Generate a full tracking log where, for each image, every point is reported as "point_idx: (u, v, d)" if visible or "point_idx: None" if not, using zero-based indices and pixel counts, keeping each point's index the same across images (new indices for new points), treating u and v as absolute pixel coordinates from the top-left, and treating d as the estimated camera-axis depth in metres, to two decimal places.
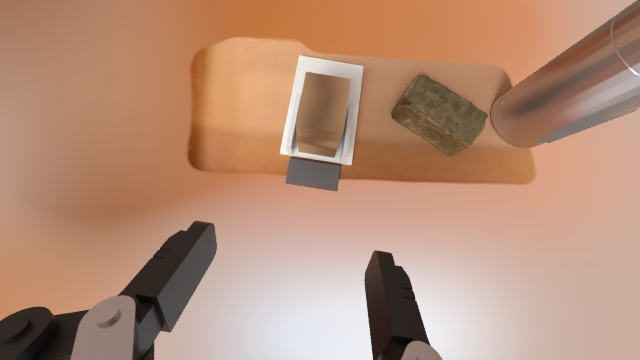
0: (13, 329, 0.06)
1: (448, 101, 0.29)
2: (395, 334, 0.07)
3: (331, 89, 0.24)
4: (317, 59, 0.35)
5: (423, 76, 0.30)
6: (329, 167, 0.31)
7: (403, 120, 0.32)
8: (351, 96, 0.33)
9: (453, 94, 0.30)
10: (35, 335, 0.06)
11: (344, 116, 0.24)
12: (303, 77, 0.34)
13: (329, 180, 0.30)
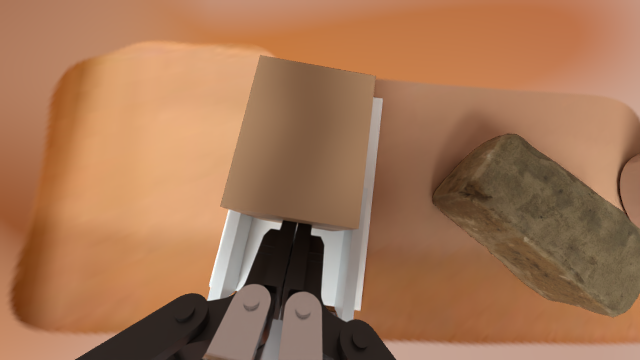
0: (184, 312, 0.07)
1: (574, 203, 0.13)
2: (286, 287, 0.08)
3: (326, 103, 0.09)
4: None
5: (518, 139, 0.14)
6: None
7: (458, 217, 0.16)
8: None
9: (583, 187, 0.13)
10: (200, 318, 0.07)
11: (360, 178, 0.09)
12: None
13: None
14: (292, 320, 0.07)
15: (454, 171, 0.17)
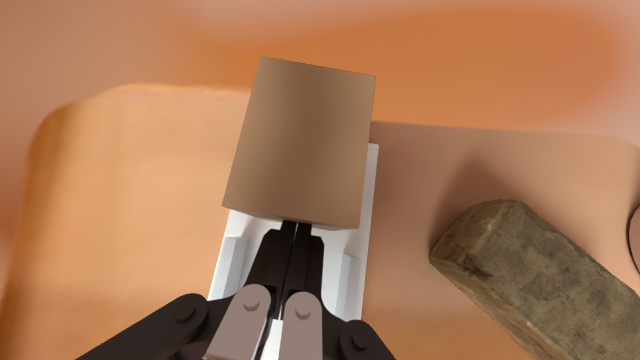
0: (184, 312, 0.07)
1: (582, 283, 0.12)
2: (286, 287, 0.08)
3: (326, 104, 0.09)
4: None
5: (521, 208, 0.13)
6: None
7: (456, 282, 0.15)
8: None
9: (591, 264, 0.12)
10: (200, 318, 0.07)
11: (361, 178, 0.09)
12: None
13: None
14: (292, 320, 0.07)
15: (452, 229, 0.16)
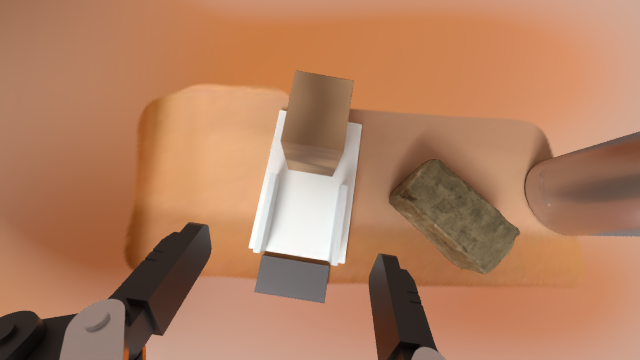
0: None
1: (467, 204, 0.21)
2: (402, 340, 0.07)
3: (328, 94, 0.19)
4: None
5: (438, 163, 0.22)
6: (314, 268, 0.23)
7: (403, 212, 0.24)
8: (345, 166, 0.26)
9: (475, 195, 0.22)
10: (21, 340, 0.06)
11: (345, 129, 0.18)
12: None
13: (314, 288, 0.23)
14: None
15: (403, 181, 0.25)
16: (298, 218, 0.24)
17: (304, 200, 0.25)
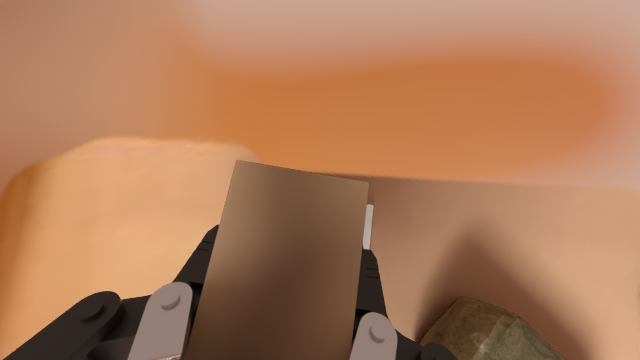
0: (90, 310, 0.06)
1: None
2: None
3: (311, 220, 0.08)
4: None
5: (519, 328, 0.11)
6: None
7: None
8: None
9: None
10: (109, 316, 0.06)
11: (350, 318, 0.07)
12: None
13: None
14: (370, 344, 0.07)
15: (442, 325, 0.14)
16: None
17: None
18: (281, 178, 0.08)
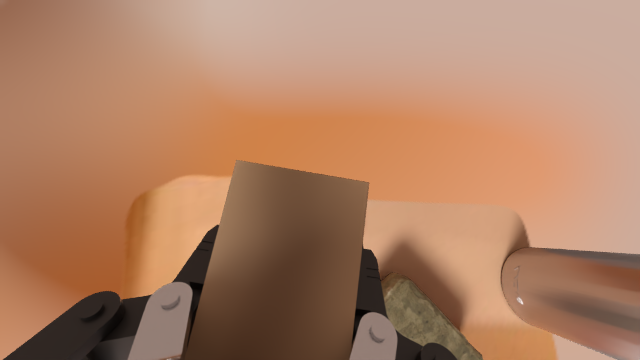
0: (90, 310, 0.06)
1: (433, 330, 0.22)
2: None
3: (311, 220, 0.08)
4: None
5: (408, 284, 0.23)
6: None
7: None
8: None
9: (442, 319, 0.22)
10: (109, 316, 0.06)
11: (350, 319, 0.07)
12: None
13: None
14: (370, 344, 0.07)
15: None
16: None
17: None
18: (281, 178, 0.08)
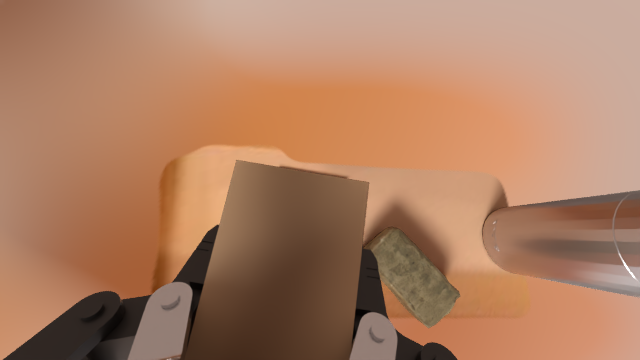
0: (90, 310, 0.06)
1: (418, 269, 0.26)
2: None
3: (311, 220, 0.08)
4: None
5: (398, 232, 0.27)
6: None
7: None
8: None
9: (426, 262, 0.26)
10: (109, 316, 0.06)
11: (350, 319, 0.07)
12: None
13: None
14: (370, 344, 0.07)
15: (373, 239, 0.30)
16: None
17: None
18: (281, 178, 0.08)
